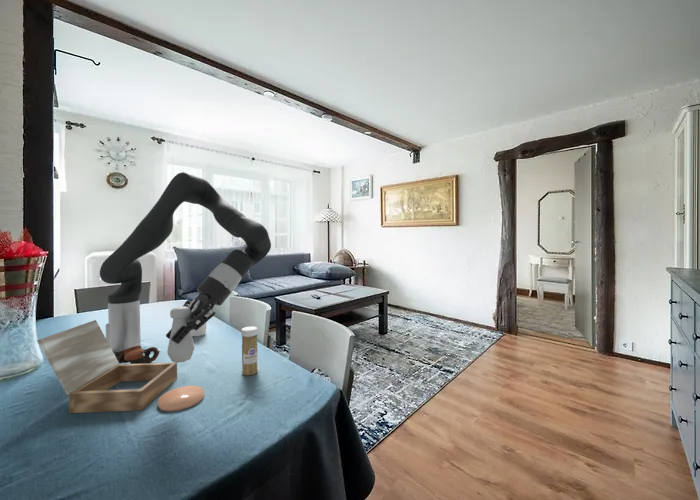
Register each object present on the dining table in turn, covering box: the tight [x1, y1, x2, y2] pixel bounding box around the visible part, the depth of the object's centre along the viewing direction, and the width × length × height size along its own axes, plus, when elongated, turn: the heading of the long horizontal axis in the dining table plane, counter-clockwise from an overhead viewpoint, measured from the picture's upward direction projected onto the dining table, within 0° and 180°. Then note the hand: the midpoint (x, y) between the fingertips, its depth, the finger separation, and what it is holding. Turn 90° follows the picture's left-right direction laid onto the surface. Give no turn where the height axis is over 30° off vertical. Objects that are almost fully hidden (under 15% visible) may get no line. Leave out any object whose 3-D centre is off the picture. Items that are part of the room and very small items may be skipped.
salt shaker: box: [167, 306, 195, 364], centre depth 73 cm, size 6×6×13 cm
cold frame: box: [36, 319, 178, 414], centre depth 76 cm, size 22×16×17 cm
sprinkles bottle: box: [240, 325, 259, 376], centre depth 88 cm, size 5×5×14 cm
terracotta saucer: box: [157, 385, 205, 412], centre depth 74 cm, size 10×10×1 cm
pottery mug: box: [114, 345, 160, 364], centre depth 91 cm, size 12×10×8 cm
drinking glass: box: [191, 322, 207, 337], centre depth 124 cm, size 7×7×10 cm
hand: (172, 339), depth 72 cm, fingers closed on salt shaker, 3 cm apart
